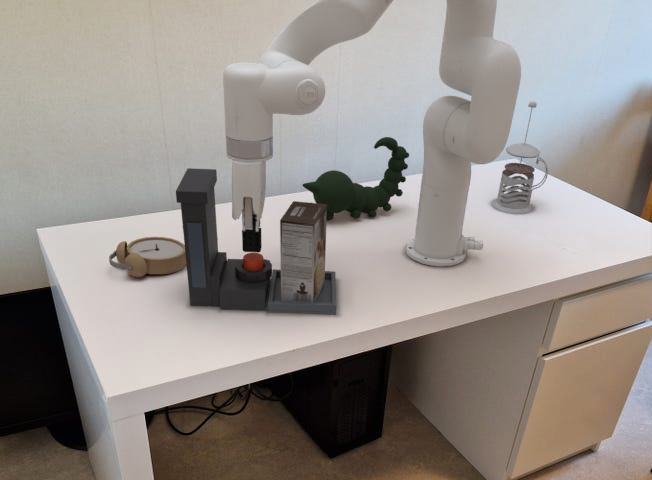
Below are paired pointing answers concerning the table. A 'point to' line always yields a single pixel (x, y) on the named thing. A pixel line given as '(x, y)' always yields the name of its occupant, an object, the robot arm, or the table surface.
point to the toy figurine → (361, 187)
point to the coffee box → (303, 251)
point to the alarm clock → (150, 256)
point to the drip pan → (321, 306)
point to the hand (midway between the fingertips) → (252, 249)
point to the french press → (518, 178)
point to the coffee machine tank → (201, 236)
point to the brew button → (253, 261)
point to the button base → (244, 286)
